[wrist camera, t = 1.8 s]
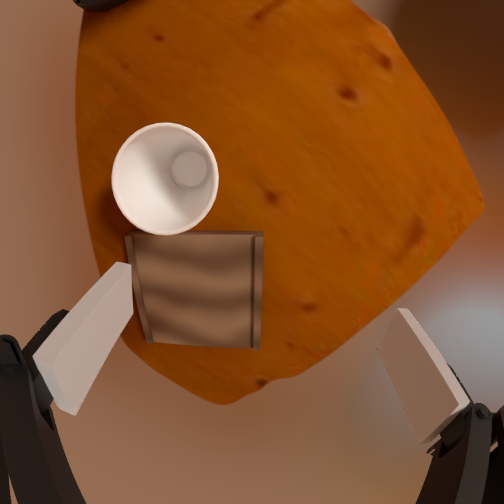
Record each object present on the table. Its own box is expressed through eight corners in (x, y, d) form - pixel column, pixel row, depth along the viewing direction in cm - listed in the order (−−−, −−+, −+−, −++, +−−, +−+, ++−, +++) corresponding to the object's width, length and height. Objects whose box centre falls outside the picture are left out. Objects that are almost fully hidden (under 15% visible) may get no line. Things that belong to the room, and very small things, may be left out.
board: (130, 231, 35) (124, 236, 33) (263, 231, 34) (263, 236, 33) (150, 335, 41) (146, 343, 40) (259, 341, 41) (259, 350, 39)
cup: (149, 202, 33) (109, 228, 23) (157, 126, 29) (116, 121, 19) (224, 213, 34) (210, 244, 23) (236, 134, 30) (227, 127, 20)
